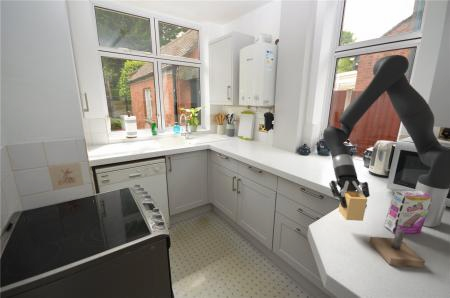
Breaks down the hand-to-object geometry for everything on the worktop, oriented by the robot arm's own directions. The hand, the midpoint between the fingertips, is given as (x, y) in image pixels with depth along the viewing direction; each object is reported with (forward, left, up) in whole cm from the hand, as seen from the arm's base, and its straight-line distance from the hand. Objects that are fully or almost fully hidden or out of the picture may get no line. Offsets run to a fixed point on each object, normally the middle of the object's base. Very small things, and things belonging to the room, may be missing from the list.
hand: (354, 208), depth 73 cm
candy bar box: (-23, -5, -11) cm, 26 cm away
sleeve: (0, -2, -4) cm, 5 cm away
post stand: (-10, +9, -11) cm, 18 cm away
